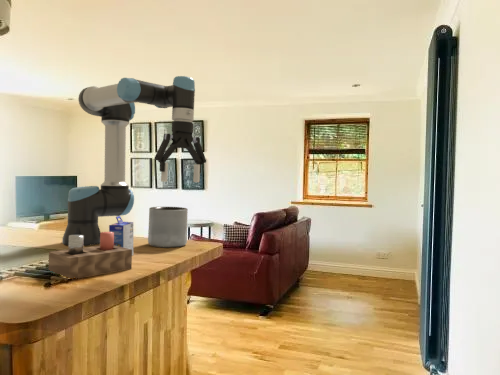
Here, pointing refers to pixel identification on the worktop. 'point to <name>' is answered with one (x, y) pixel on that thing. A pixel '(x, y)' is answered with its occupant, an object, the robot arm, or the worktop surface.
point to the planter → (167, 226)
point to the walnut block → (90, 261)
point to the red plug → (106, 241)
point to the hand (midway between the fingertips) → (180, 182)
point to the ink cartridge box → (122, 234)
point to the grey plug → (76, 244)
